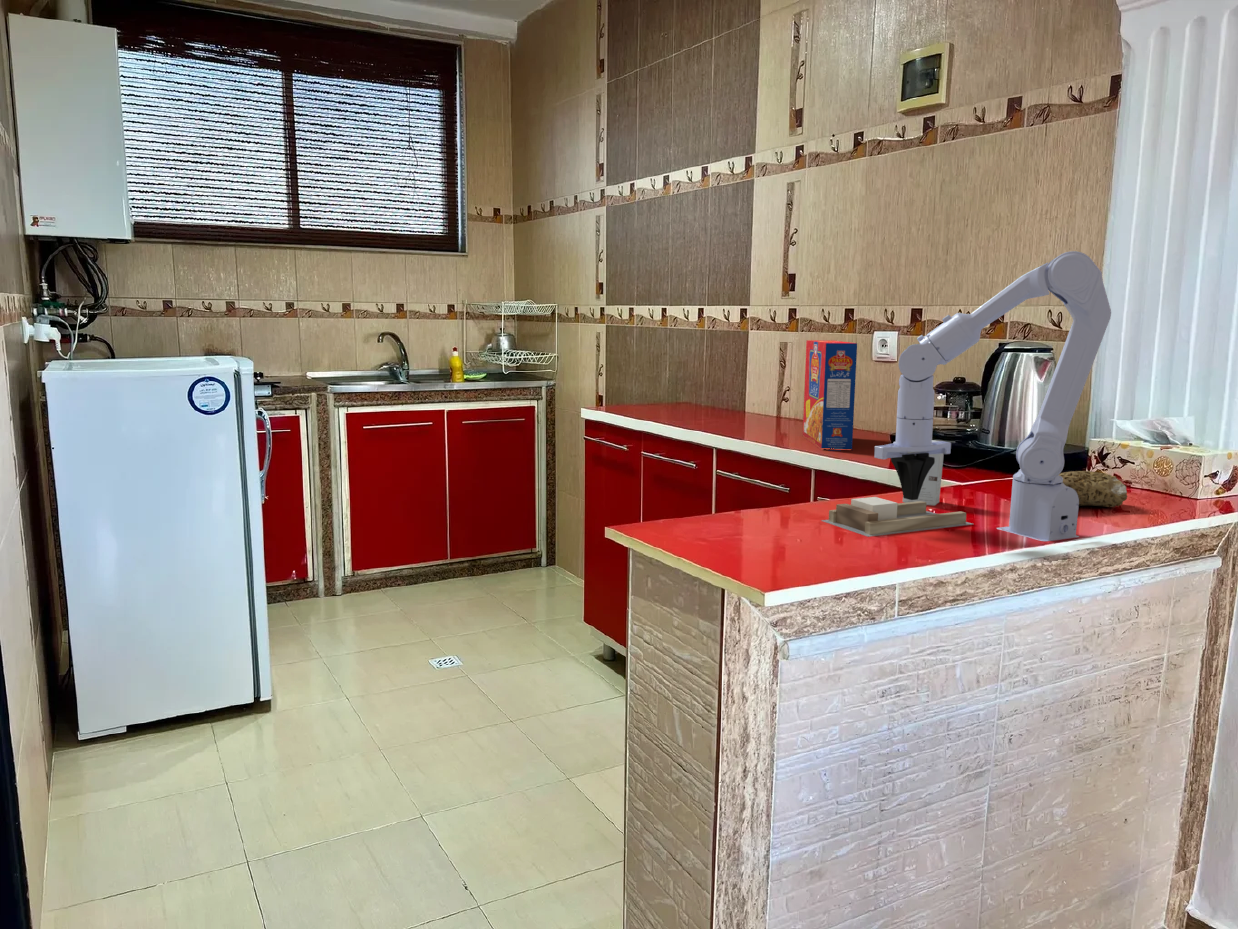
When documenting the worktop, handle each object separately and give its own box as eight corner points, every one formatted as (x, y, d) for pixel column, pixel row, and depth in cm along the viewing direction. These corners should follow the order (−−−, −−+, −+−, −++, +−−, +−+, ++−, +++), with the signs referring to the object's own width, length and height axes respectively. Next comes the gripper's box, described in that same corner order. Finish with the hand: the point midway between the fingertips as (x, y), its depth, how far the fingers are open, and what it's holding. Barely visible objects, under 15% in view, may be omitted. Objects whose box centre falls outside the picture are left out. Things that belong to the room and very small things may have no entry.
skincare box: (901, 505, 164) (905, 440, 162) (906, 501, 168) (910, 437, 166) (936, 509, 161) (940, 443, 159) (940, 504, 165) (945, 440, 163)
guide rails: (965, 523, 147) (966, 505, 147) (869, 534, 139) (870, 516, 139) (920, 511, 157) (922, 494, 156) (828, 520, 149) (829, 503, 148)
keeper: (896, 526, 145) (897, 502, 144) (871, 529, 143) (873, 505, 142) (874, 520, 149) (875, 496, 149) (850, 522, 147) (851, 499, 147)
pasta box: (802, 436, 260) (806, 340, 256) (830, 436, 260) (834, 340, 256) (821, 450, 233) (826, 343, 228) (851, 450, 233) (857, 343, 228)
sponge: (1100, 507, 171) (996, 483, 172) (1116, 470, 168) (1010, 446, 169) (1125, 535, 158) (1013, 509, 160) (1143, 495, 156) (1029, 469, 157)
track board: (973, 527, 147) (973, 523, 147) (867, 540, 138) (868, 536, 138) (921, 512, 158) (922, 509, 158) (820, 523, 149) (820, 520, 149)
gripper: (931, 413, 153) (926, 491, 155) (863, 417, 147) (860, 498, 149) (962, 417, 146) (957, 498, 148) (892, 421, 140) (888, 505, 143)
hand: (910, 498), depth 148 cm, fingers closed
